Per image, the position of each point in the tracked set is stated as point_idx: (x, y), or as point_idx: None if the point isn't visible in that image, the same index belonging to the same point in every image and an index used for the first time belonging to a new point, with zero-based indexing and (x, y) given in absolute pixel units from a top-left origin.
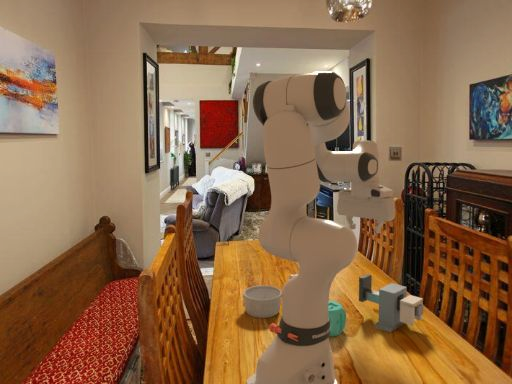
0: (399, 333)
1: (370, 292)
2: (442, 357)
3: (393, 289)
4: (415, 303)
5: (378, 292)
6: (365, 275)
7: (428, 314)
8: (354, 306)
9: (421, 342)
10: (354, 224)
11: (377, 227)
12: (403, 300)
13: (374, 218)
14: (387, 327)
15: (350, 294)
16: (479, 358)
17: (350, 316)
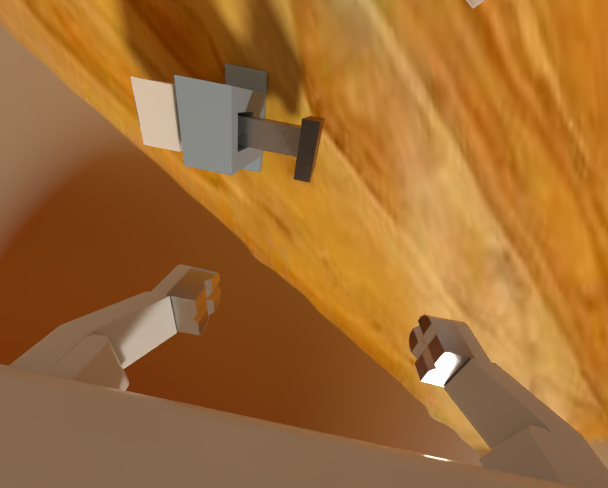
0: (211, 77)
1: (287, 129)
2: (93, 11)
3: (197, 116)
4: (135, 93)
5: (269, 144)
6: (308, 159)
7: (216, 212)
8: (353, 165)
9: (158, 62)
10: (428, 366)
11: (146, 297)
12: (164, 89)
13: (49, 393)
14: (233, 71)
15: (383, 227)
16: (59, 67)
17: (341, 97)
